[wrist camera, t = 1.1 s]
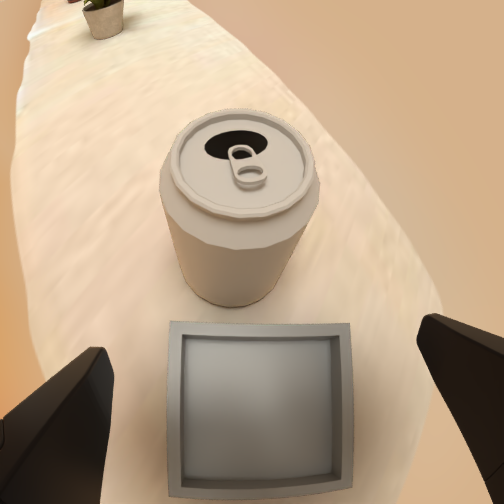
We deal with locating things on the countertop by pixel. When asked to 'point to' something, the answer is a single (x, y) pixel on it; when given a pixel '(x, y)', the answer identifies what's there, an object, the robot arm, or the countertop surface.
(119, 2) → the house plant
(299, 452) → the tray
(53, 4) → the countertop surface
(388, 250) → the countertop surface
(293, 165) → the can
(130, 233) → the countertop surface
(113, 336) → the countertop surface
